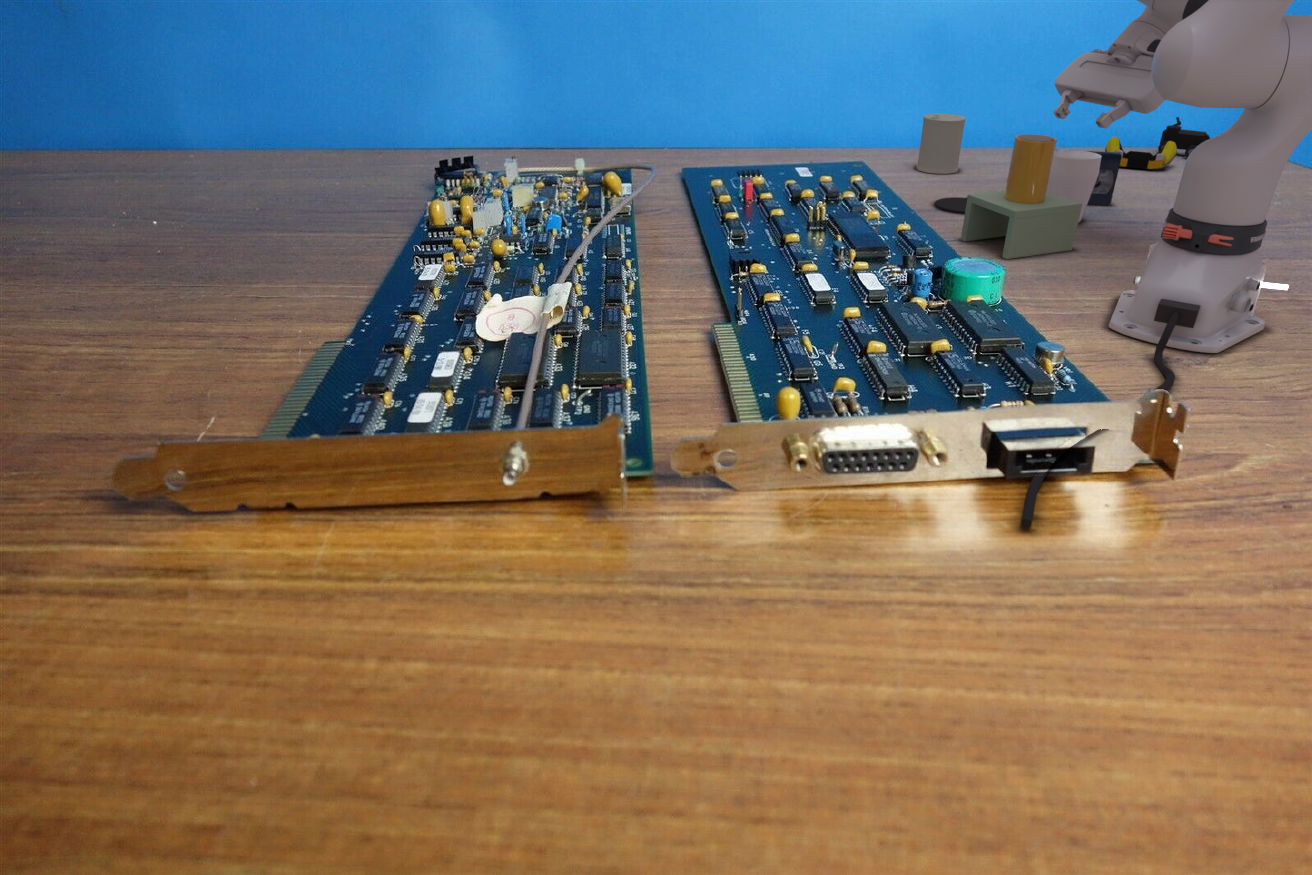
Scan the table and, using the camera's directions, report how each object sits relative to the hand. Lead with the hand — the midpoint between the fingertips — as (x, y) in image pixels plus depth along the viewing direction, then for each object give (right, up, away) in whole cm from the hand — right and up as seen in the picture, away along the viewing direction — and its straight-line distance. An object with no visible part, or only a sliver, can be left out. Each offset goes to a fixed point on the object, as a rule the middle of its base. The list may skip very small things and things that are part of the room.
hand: (1078, 120), depth 155 cm
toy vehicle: (+60, +15, +72) cm, 95 cm away
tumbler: (-8, -12, +3) cm, 15 cm away
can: (-6, +8, +58) cm, 59 cm away
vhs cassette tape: (+11, -5, +33) cm, 35 cm away
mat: (-10, -7, +29) cm, 32 cm away
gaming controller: (+42, +10, +62) cm, 76 cm away
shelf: (-8, -19, +7) cm, 22 cm away
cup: (+7, -12, +22) cm, 25 cm away
